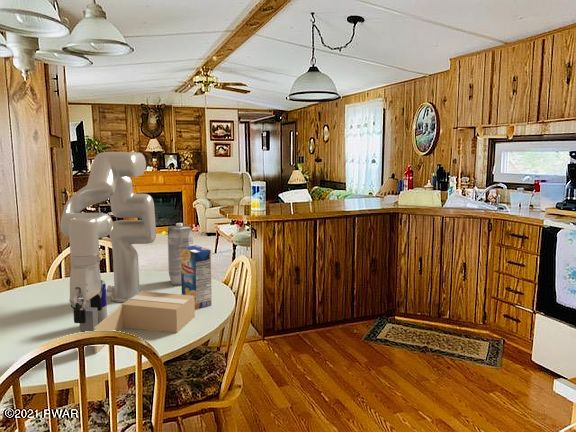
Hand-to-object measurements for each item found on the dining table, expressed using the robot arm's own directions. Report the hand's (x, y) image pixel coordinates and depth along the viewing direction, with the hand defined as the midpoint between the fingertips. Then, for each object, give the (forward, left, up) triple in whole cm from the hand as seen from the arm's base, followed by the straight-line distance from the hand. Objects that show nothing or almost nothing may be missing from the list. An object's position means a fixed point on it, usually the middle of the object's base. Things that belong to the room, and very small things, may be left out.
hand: (88, 316), depth 128 cm
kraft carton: (+9, +25, -11) cm, 29 cm away
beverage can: (-10, +18, -11) cm, 23 cm away
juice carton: (-4, +69, -11) cm, 70 cm away
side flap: (-1, +8, -11) cm, 13 cm away
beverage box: (+14, +45, -11) cm, 48 cm away
